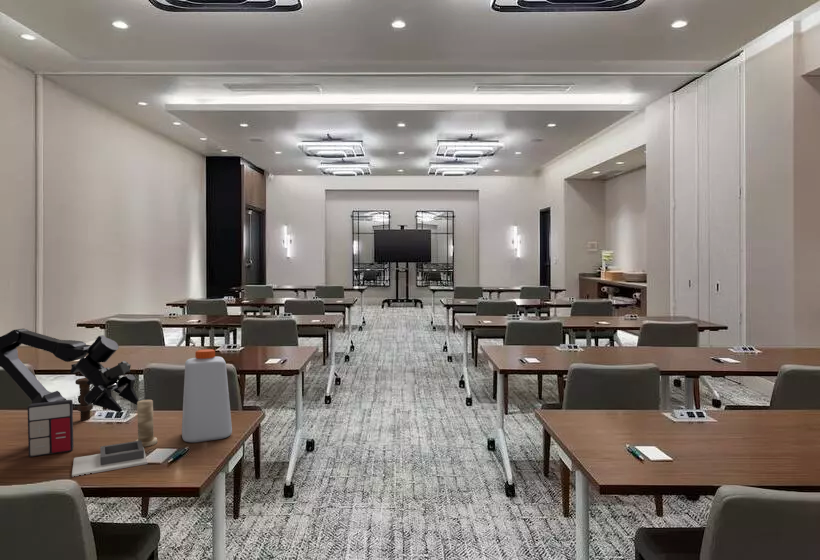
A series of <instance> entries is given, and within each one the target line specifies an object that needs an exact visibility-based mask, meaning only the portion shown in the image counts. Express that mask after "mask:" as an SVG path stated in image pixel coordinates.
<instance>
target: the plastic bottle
mask: <svg viewBox="0 0 820 560" xmlns="http://www.w3.org/2000/svg"><path fill="white" fill-rule="evenodd" d="M194 353H195V354H194V355H195V357H191V358H188V359H186V360H185V362H184V363H185V364H184V377H183V378H184V381H183V383H184V384H183V399H182V400H183V402H182V421H181V437H182V440H183V441H184V442H186V443H193V444H194V443H201V442H202V443H203V442H207V441H208V442H209V441H216V440H223V439H226V438H229V436H231V435H232V433H233V428H232V427H233V425H232V415H231V413H232V412H231V403H230V392H229V383H228V382H229V381H228V371H227V363H226V361H225V359H224V358H223V357H222V356H216V351H215V349H212V348H211V349H210V348H209V349H207V348H206V349H205V348H204V349H198V350H196V351H195V352H194Z"/></svg>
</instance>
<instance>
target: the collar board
mask: <svg viewBox="0 0 820 560" xmlns="http://www.w3.org/2000/svg"><path fill="white" fill-rule="evenodd" d="M99 449H100V452H99V453H95V454H90V455H84V456H75V457H73V463H72V464H73V465H72V471H71V477H72V478H75V477H80V476H79V475H81V476H85V475H84V474H86V475H91V474H90V473H92V474H97V473H102V472H108V471H109V472H110V471H113V470H114V471H115V470H121V469H125V468H133V467H136V466H137V467H138V466H144V465H148V458H147V455H146V452H145V447H143V445H142V441H141V440H140V441H135V440H134V441H128V442H121V443H115V444H107V445H103V446H100V448H99ZM74 476H75V477H74Z"/></svg>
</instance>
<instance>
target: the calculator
mask: <svg viewBox="0 0 820 560" xmlns="http://www.w3.org/2000/svg"><path fill="white" fill-rule="evenodd" d="M73 407H74V405H73V399H66V400H63V401H54V402H44V403H34V404H32V403H29V405H28V406H27V434H28V435H27V436H28V437H27V438H28V439H27V440H28V443H27V444H28V457H29V458H32V457H39V456H48V455H54V454H60V453H62V454H63V453H67V452H68V451H69V452H73V450H74V416H73V414H74V411H73V410H74V409H73ZM69 452H68V453H69Z"/></svg>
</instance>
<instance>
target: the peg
mask: <svg viewBox="0 0 820 560" xmlns="http://www.w3.org/2000/svg"><path fill="white" fill-rule="evenodd" d="M136 407H137V408H136V410H137V411H136V414H137V439H135V440H134V441H140V440H141V441H142V445H143V447H144V448H145V447H146V446H148V447H152V446H155V445H157V443H158V437H156V436H154V435H155V434H154V399H153V400H152V399H142V400H139V401H138V402H137V405H136ZM154 444H155V445H154ZM151 445H152V446H151Z"/></svg>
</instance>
